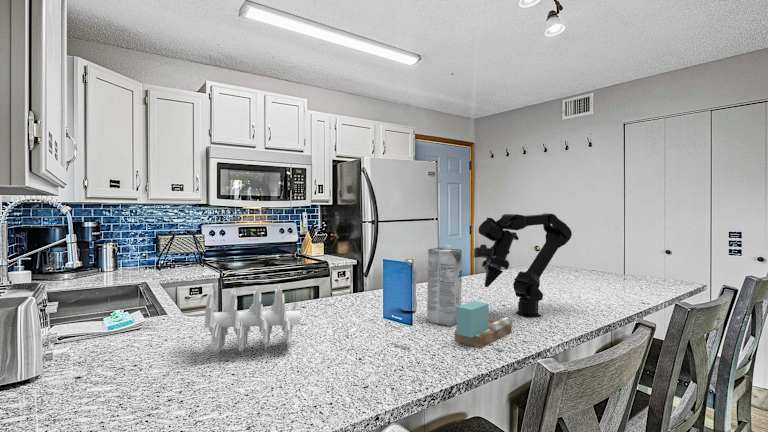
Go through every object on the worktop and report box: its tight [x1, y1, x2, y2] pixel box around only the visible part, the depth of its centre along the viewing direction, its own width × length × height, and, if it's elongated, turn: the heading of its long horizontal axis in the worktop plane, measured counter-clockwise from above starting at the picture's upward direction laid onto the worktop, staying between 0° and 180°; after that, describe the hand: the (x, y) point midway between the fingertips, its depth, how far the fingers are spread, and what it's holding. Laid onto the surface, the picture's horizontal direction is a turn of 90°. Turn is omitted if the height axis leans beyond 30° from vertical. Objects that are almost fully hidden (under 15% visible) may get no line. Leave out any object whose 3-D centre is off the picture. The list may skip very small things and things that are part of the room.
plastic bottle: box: [404, 258, 419, 312], centre depth 152 cm, size 6×7×20 cm
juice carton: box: [426, 244, 463, 327], centre depth 138 cm, size 9×10×27 cm
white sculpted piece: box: [204, 284, 301, 356], centre depth 111 cm, size 18×18×25 cm
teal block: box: [455, 300, 490, 338], centre depth 119 cm, size 10×5×8 cm, turn 137°
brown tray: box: [454, 316, 513, 349], centre depth 124 cm, size 20×9×5 cm, turn 137°
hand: (485, 286), depth 140 cm, fingers closed
